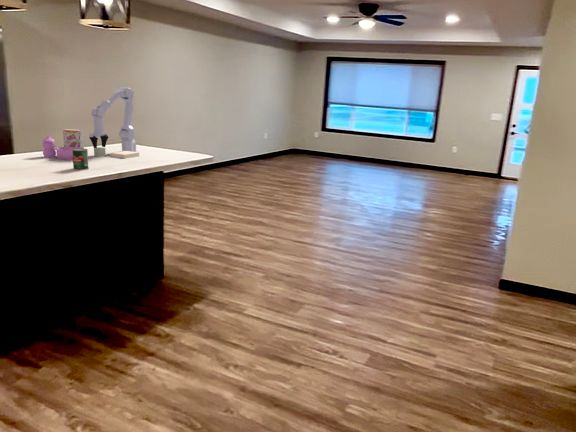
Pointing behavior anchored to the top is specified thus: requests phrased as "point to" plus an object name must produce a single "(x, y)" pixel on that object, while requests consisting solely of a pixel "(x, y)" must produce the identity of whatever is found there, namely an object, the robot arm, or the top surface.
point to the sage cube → (99, 151)
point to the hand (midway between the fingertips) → (99, 147)
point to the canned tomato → (80, 159)
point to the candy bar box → (73, 138)
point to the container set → (62, 152)
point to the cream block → (124, 154)
